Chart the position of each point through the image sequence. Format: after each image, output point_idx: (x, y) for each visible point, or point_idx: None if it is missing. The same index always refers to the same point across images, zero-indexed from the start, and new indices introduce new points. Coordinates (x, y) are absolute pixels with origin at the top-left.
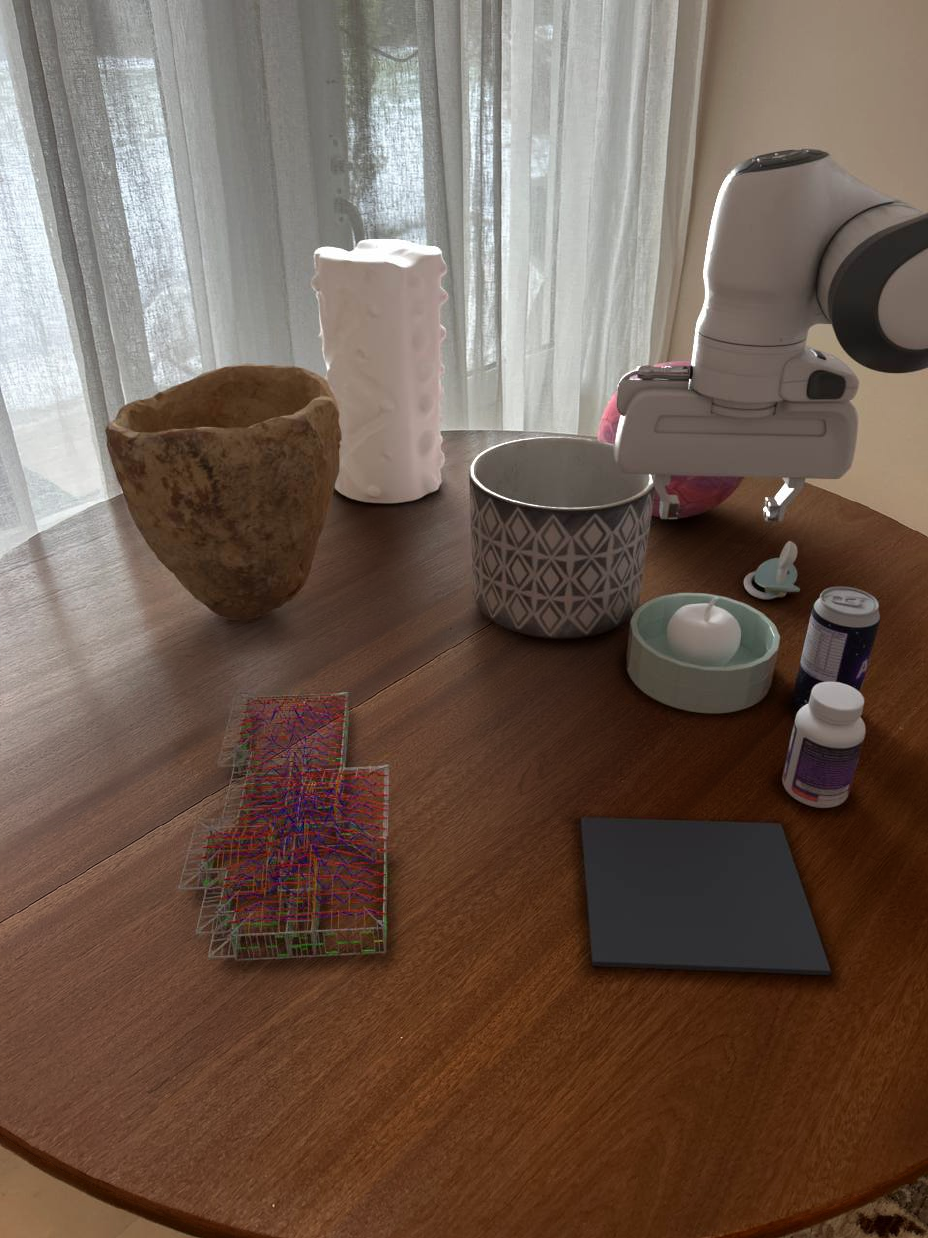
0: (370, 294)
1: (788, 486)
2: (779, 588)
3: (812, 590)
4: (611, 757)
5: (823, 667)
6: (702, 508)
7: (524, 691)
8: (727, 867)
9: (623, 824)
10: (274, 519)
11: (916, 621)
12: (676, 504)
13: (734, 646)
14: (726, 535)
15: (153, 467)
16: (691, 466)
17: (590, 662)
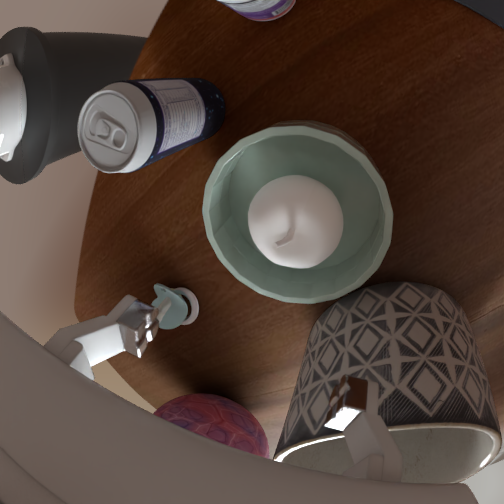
0: None
1: (80, 348)
2: (171, 290)
3: (145, 287)
4: (458, 91)
5: (185, 88)
6: (202, 396)
7: (489, 225)
8: None
9: (475, 2)
10: None
11: (86, 225)
12: (350, 404)
13: (269, 182)
14: (190, 369)
15: None
16: (324, 499)
17: (409, 249)
